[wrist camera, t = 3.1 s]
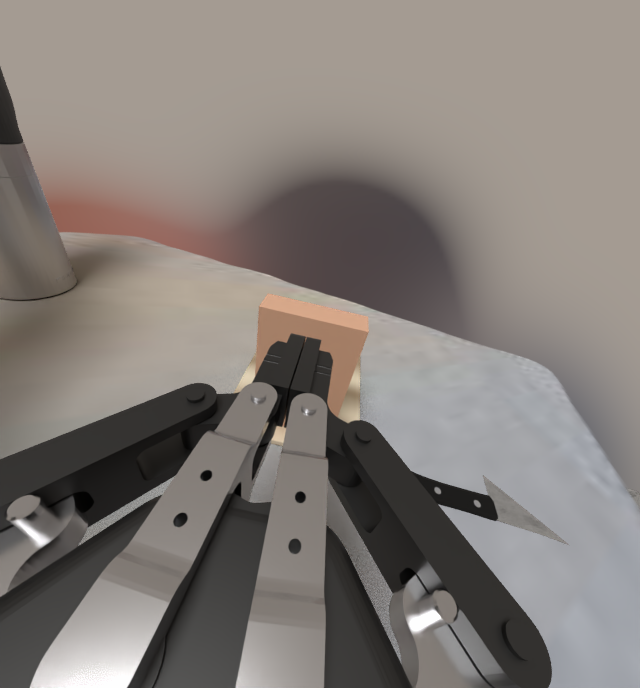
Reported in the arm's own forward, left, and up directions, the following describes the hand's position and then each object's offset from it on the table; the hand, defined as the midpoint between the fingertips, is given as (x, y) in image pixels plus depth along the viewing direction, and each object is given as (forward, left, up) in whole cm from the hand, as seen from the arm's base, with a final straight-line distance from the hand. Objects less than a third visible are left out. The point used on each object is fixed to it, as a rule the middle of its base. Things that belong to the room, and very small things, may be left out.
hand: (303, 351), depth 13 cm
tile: (+2, +7, -15) cm, 17 cm away
